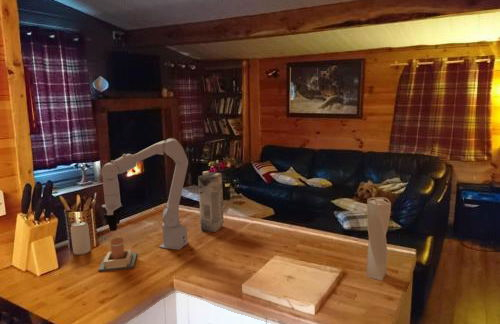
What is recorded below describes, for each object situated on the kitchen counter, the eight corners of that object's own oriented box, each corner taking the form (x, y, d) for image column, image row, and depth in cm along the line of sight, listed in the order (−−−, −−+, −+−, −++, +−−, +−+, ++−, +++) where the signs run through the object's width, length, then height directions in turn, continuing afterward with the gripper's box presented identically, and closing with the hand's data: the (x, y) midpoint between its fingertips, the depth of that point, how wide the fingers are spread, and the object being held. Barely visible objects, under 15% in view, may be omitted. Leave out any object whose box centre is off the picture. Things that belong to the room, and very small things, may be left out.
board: (137, 254, 144) (136, 247, 144) (133, 268, 133) (132, 260, 132) (105, 257, 142) (104, 250, 142) (98, 271, 131) (97, 264, 130)
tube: (127, 258, 139) (125, 238, 137) (119, 263, 134) (117, 243, 133) (117, 257, 140) (115, 237, 139) (109, 262, 136) (107, 241, 135)
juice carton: (225, 225, 174) (223, 169, 169) (216, 233, 164) (213, 174, 159) (208, 223, 177) (205, 168, 172) (198, 231, 167) (195, 173, 162)
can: (84, 255, 144) (80, 226, 142) (69, 254, 146) (66, 225, 143) (94, 249, 150) (91, 221, 148) (80, 248, 152) (77, 220, 150)
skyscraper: (384, 283, 117) (388, 199, 112) (361, 278, 121) (364, 196, 116) (390, 273, 124) (393, 193, 119) (367, 268, 128) (370, 190, 123)
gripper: (104, 189, 149) (107, 221, 152) (97, 199, 135) (100, 234, 138) (122, 188, 150) (125, 220, 153) (117, 198, 136) (120, 232, 139)
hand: (115, 227), depth 145 cm, fingers open, 7 cm apart
